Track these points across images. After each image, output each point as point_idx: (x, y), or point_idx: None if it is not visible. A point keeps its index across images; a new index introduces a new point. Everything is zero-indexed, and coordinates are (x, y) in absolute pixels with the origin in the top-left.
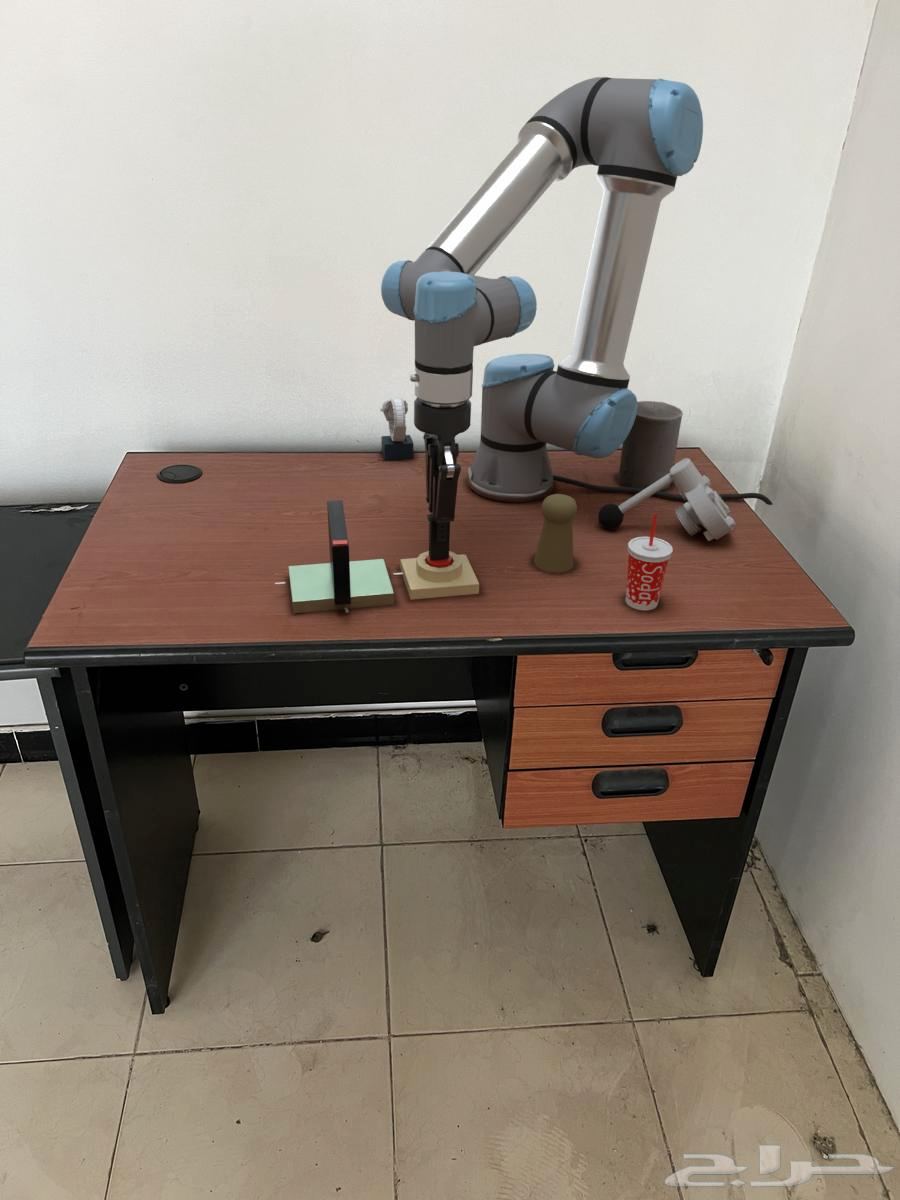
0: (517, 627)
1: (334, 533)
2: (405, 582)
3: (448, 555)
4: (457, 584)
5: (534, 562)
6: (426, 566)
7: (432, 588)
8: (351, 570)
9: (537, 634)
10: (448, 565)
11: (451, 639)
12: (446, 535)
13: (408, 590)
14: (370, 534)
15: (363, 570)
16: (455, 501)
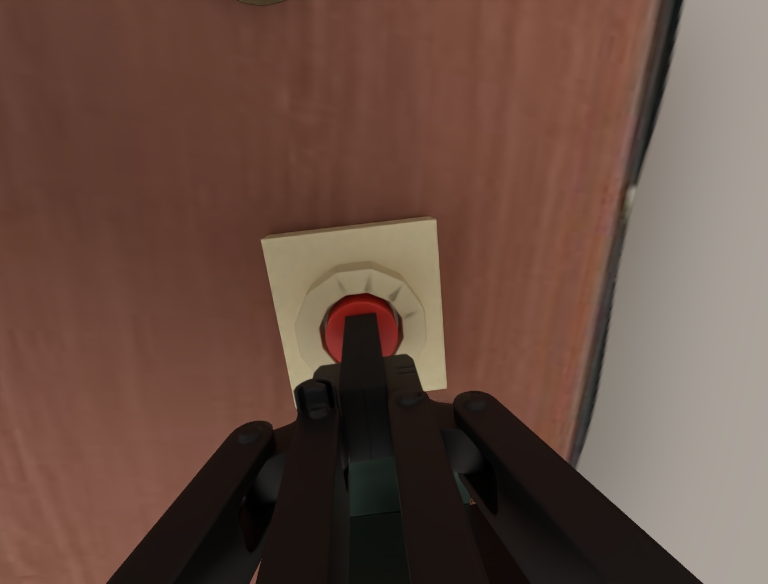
0: (596, 137)
1: None
2: None
3: (376, 317)
4: (434, 278)
5: (252, 3)
6: None
7: (443, 339)
8: (359, 507)
9: (637, 88)
10: (388, 309)
11: (607, 298)
12: (415, 367)
13: None
14: (121, 456)
15: (360, 485)
16: (584, 480)
